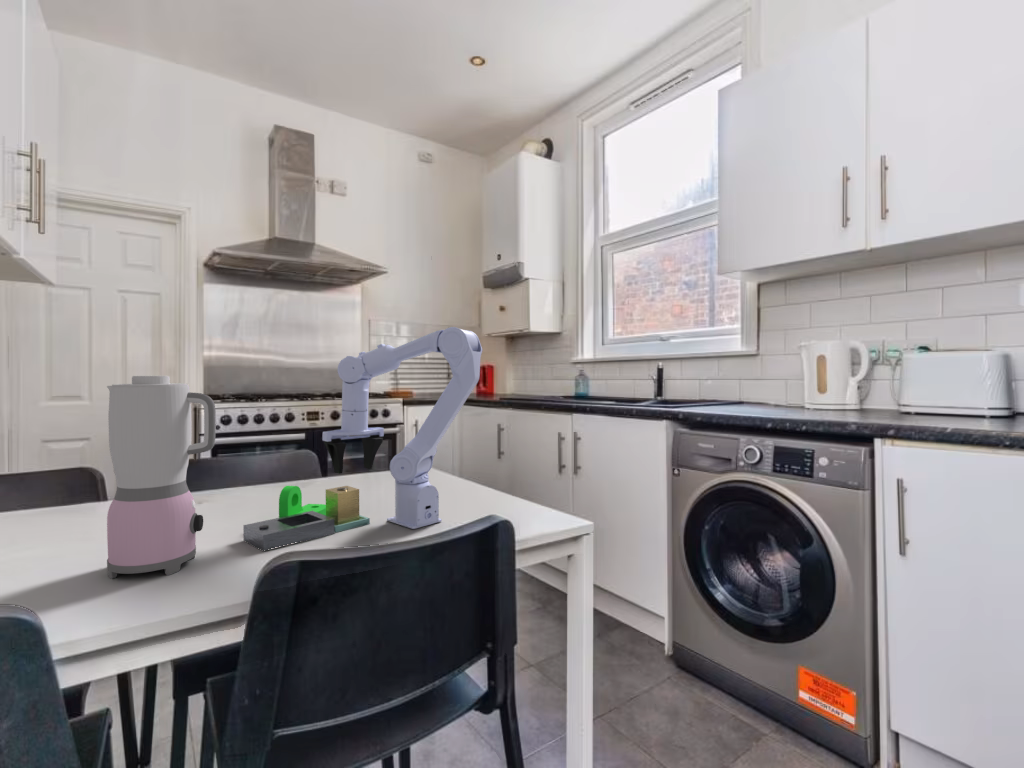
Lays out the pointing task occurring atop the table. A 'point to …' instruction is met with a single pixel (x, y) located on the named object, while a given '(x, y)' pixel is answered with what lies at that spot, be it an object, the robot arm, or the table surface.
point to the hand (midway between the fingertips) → (353, 470)
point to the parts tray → (352, 524)
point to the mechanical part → (296, 503)
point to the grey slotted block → (288, 530)
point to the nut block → (342, 504)
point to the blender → (153, 474)
